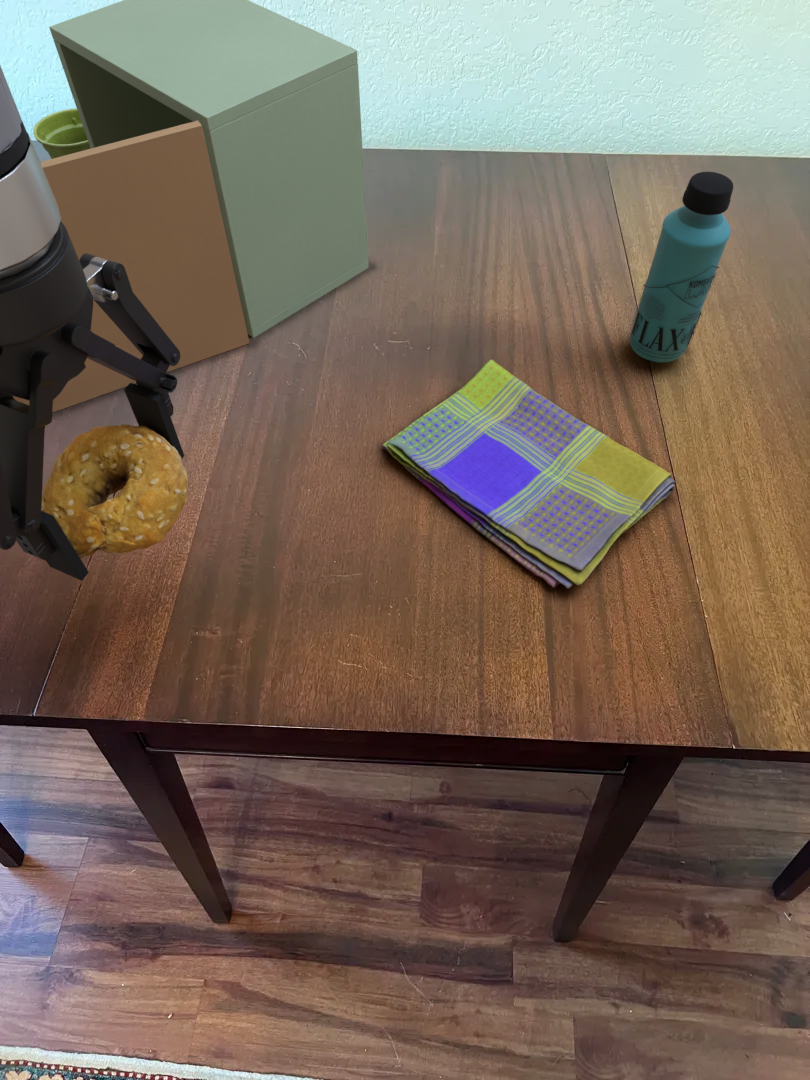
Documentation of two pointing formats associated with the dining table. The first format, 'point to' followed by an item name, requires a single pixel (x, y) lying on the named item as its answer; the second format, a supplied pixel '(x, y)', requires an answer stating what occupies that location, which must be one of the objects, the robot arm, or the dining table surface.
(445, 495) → the dish towel
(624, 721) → the dining table surface
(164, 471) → the bagel
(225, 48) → the cupboard
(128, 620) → the dining table surface
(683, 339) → the beverage bottle
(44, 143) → the plant pot
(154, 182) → the cupboard door
